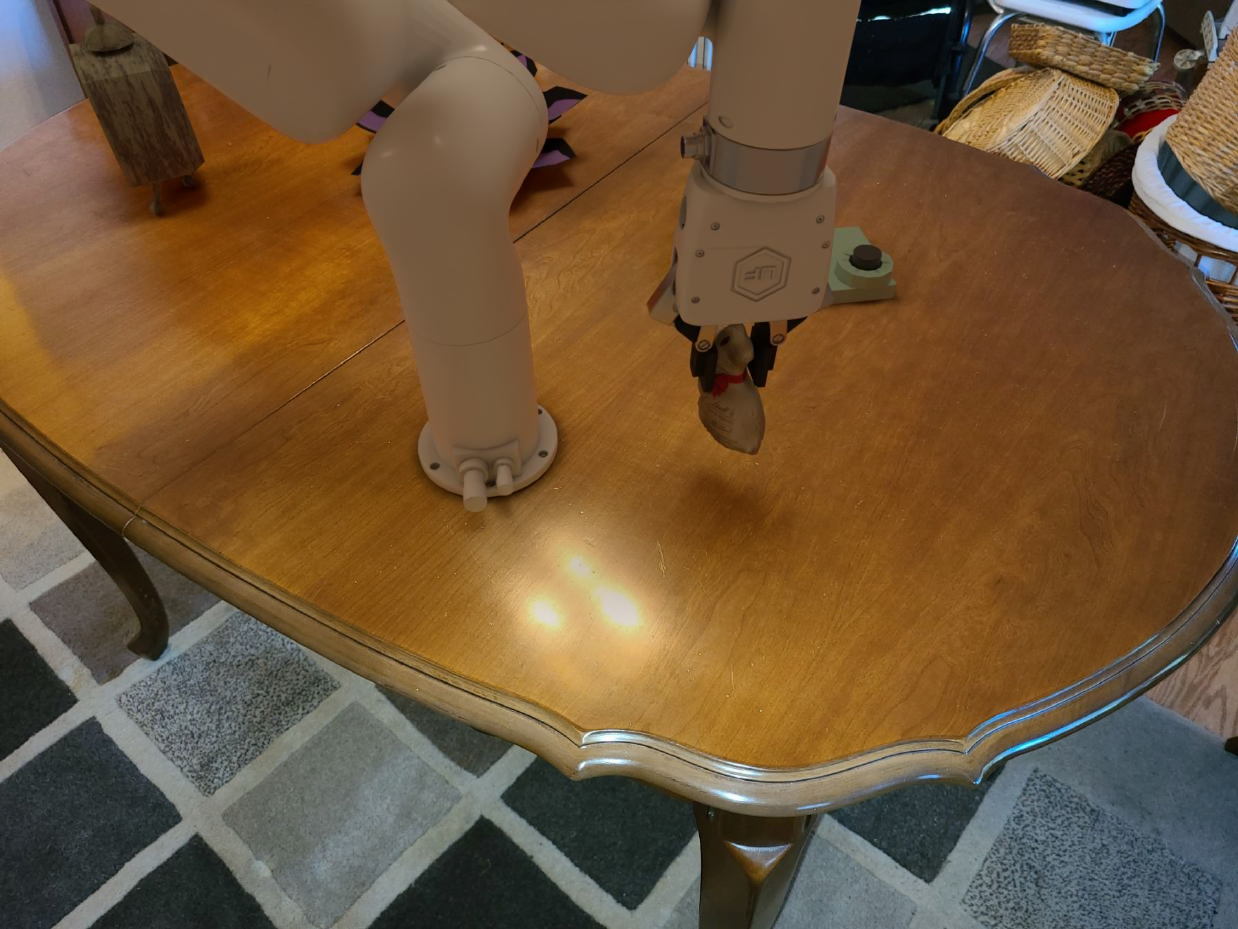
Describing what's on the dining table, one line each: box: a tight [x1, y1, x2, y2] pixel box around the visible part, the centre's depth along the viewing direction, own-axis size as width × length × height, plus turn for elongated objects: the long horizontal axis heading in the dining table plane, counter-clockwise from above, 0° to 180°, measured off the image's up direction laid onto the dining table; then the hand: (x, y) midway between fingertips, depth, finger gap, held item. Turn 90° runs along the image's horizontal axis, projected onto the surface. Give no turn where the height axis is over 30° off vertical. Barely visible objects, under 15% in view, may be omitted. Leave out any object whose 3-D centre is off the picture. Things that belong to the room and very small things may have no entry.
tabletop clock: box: [68, 3, 206, 216], centre depth 99 cm, size 14×9×25 cm, turn 30°
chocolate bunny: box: [697, 323, 766, 456], centre depth 64 cm, size 6×8×10 cm
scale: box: [828, 225, 898, 305], centre depth 94 cm, size 12×14×4 cm
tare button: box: [851, 244, 883, 271], centre depth 91 cm, size 3×3×2 cm
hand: (729, 376), depth 64 cm, fingers closed on chocolate bunny, 3 cm apart
